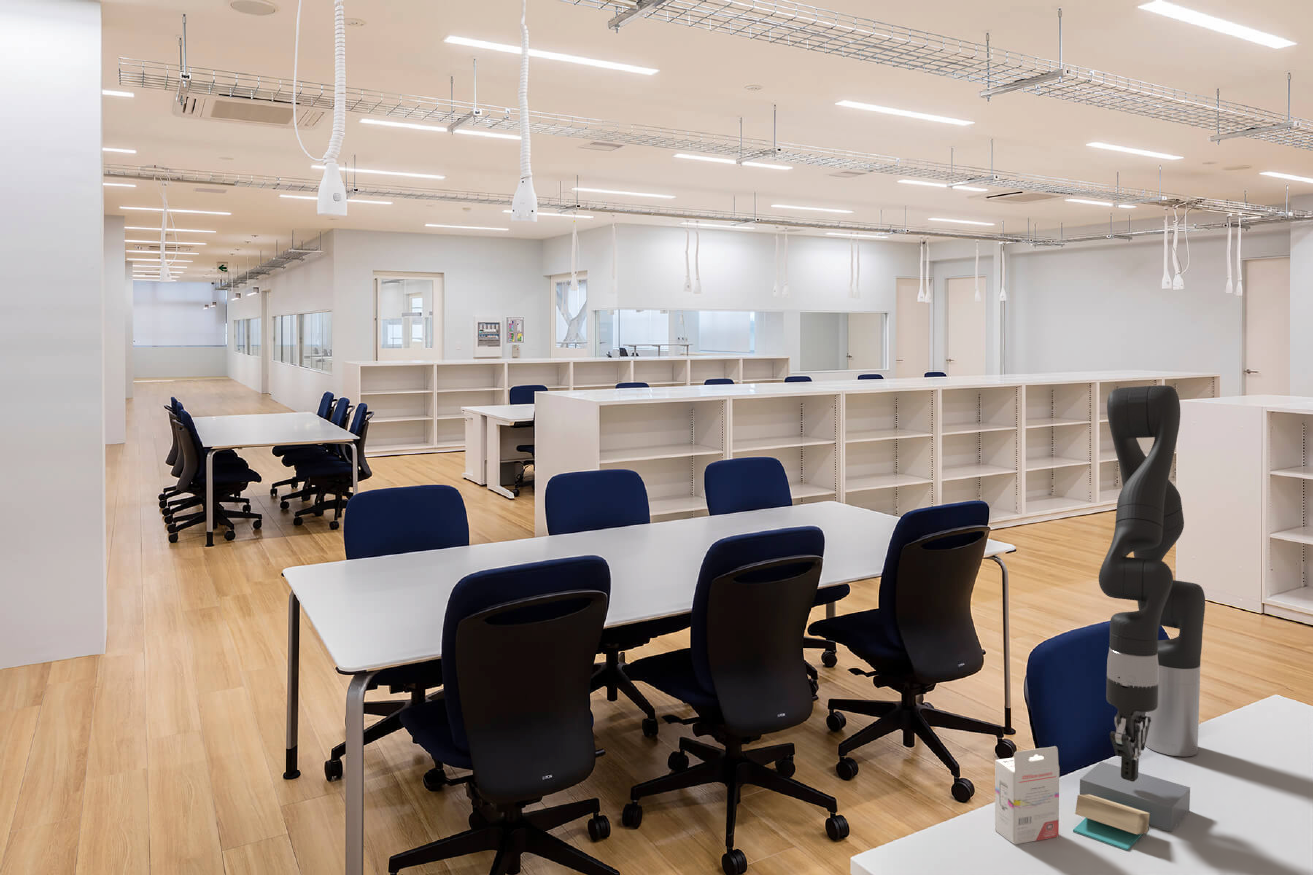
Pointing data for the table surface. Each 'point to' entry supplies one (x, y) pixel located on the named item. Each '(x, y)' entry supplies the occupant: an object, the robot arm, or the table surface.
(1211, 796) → the table surface
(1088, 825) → the teal rubber mat
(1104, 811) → the maple tile
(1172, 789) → the grey rectangular block
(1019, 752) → the ink cartridge box
